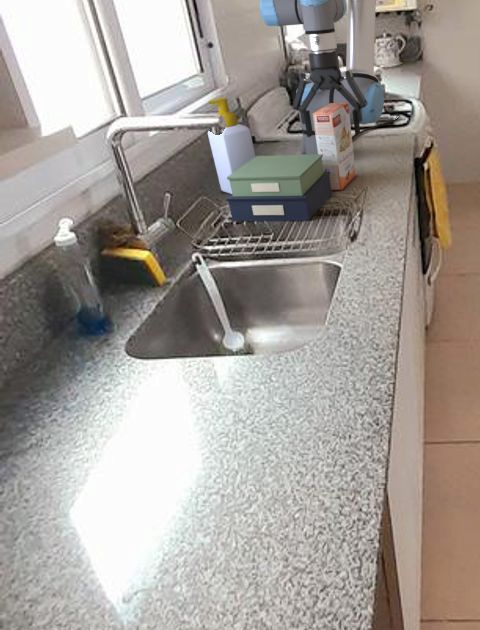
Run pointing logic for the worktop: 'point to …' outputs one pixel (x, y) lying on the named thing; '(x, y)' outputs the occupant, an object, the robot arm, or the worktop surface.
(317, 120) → the cracker box
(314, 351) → the worktop surface
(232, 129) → the soap bottle
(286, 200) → the box stack
